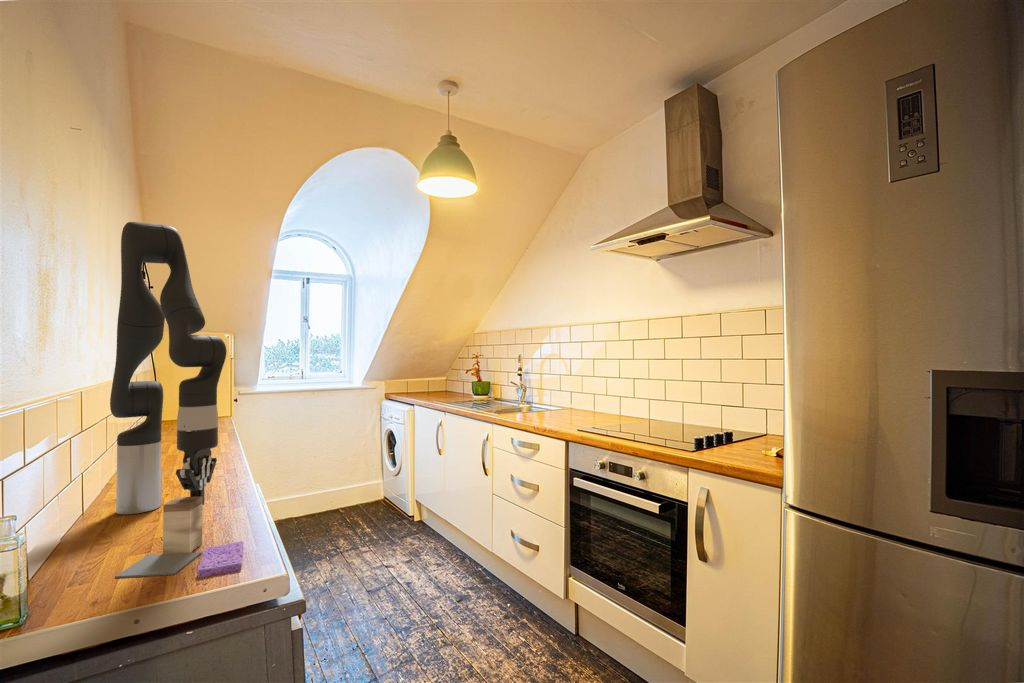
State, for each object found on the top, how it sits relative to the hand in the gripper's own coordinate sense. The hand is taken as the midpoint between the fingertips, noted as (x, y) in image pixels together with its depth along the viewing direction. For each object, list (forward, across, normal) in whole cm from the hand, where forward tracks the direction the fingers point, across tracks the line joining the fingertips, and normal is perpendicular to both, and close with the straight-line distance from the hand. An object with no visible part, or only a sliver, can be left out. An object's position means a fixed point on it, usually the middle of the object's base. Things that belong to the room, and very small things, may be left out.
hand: (197, 506), depth 106 cm
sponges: (+8, +12, +10) cm, 18 cm away
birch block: (+7, +5, 0) cm, 9 cm away
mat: (+7, +13, 0) cm, 15 cm away
